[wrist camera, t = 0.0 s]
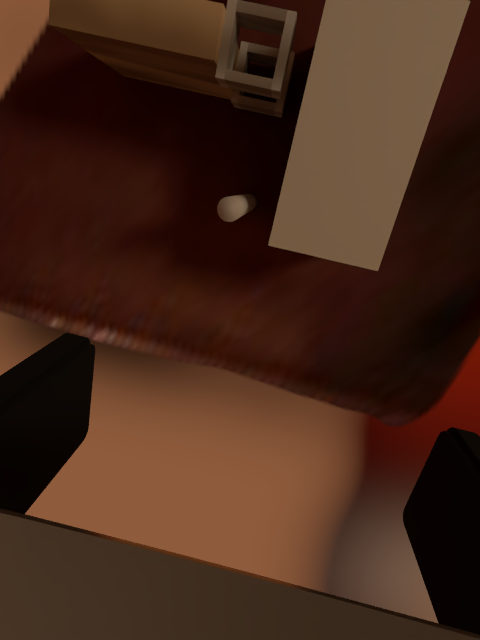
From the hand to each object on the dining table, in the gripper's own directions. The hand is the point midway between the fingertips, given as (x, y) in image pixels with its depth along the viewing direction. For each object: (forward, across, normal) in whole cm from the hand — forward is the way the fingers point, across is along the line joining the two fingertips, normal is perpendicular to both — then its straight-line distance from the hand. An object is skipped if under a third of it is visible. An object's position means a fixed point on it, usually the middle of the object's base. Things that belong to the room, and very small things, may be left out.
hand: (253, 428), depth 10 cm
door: (+31, +10, -14) cm, 36 cm away
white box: (+31, -1, -10) cm, 33 cm away
